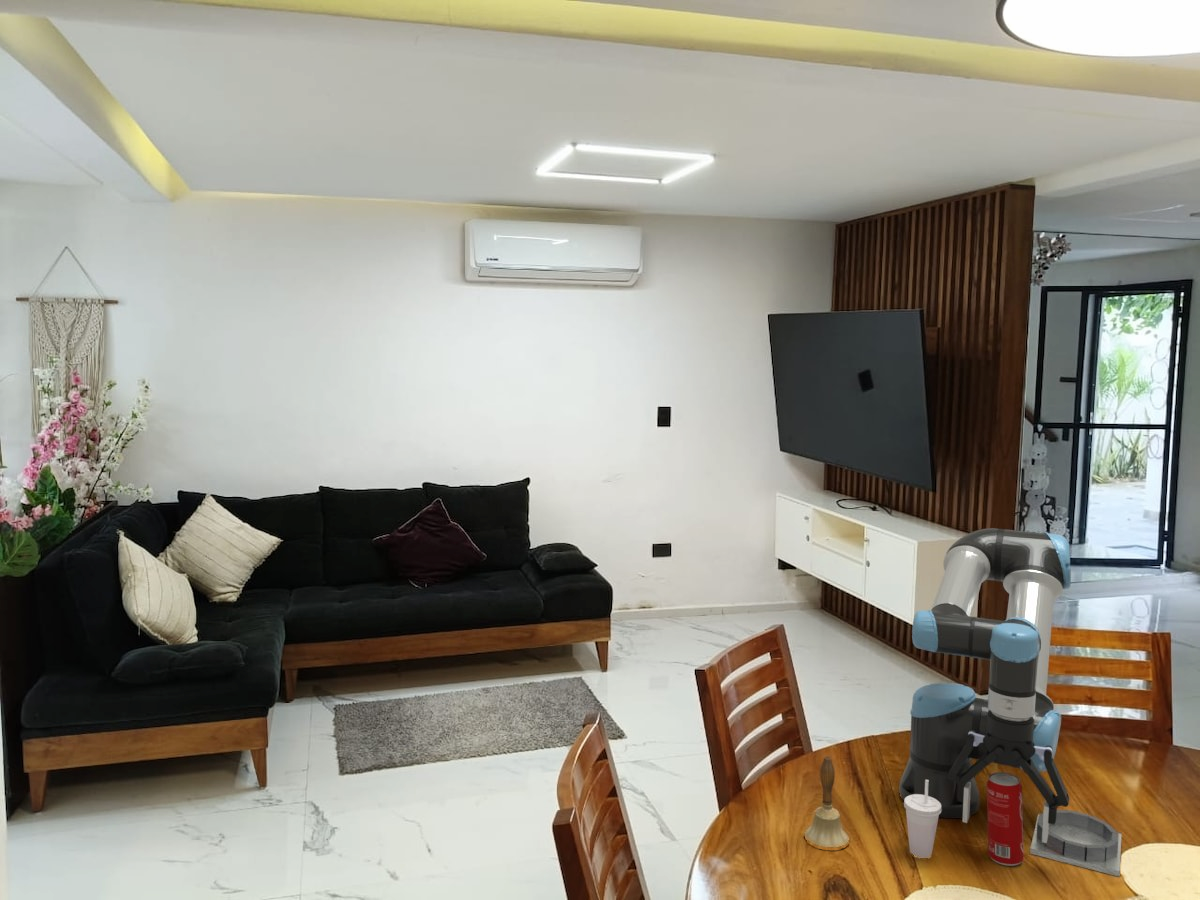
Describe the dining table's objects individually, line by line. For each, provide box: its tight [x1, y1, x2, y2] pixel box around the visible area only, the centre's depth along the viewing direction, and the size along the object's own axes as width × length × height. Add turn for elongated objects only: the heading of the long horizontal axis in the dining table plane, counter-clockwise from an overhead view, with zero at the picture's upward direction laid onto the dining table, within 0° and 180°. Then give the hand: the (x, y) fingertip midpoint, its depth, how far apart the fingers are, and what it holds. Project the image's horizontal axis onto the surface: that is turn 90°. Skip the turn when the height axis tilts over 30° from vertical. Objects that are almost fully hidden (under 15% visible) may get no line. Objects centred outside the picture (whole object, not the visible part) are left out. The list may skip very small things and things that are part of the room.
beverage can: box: [986, 771, 1025, 867], centre depth 161 cm, size 6×6×15 cm
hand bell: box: [804, 755, 850, 847], centre depth 167 cm, size 8×8×16 cm
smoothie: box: [903, 780, 941, 859], centre depth 163 cm, size 6×6×14 cm
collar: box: [1029, 809, 1122, 878], centre depth 165 cm, size 14×14×4 cm
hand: (1004, 829), depth 161 cm, fingers open, 12 cm apart
